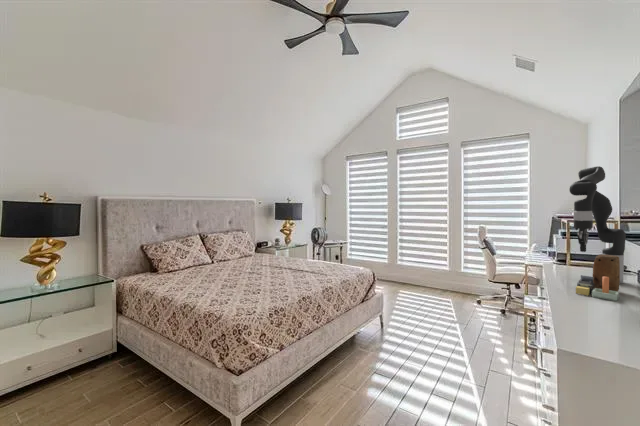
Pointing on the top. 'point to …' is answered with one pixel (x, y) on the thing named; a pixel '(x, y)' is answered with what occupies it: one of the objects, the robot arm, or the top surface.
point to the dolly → (586, 282)
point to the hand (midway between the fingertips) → (583, 251)
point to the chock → (582, 290)
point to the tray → (605, 294)
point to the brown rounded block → (606, 271)
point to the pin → (605, 285)
